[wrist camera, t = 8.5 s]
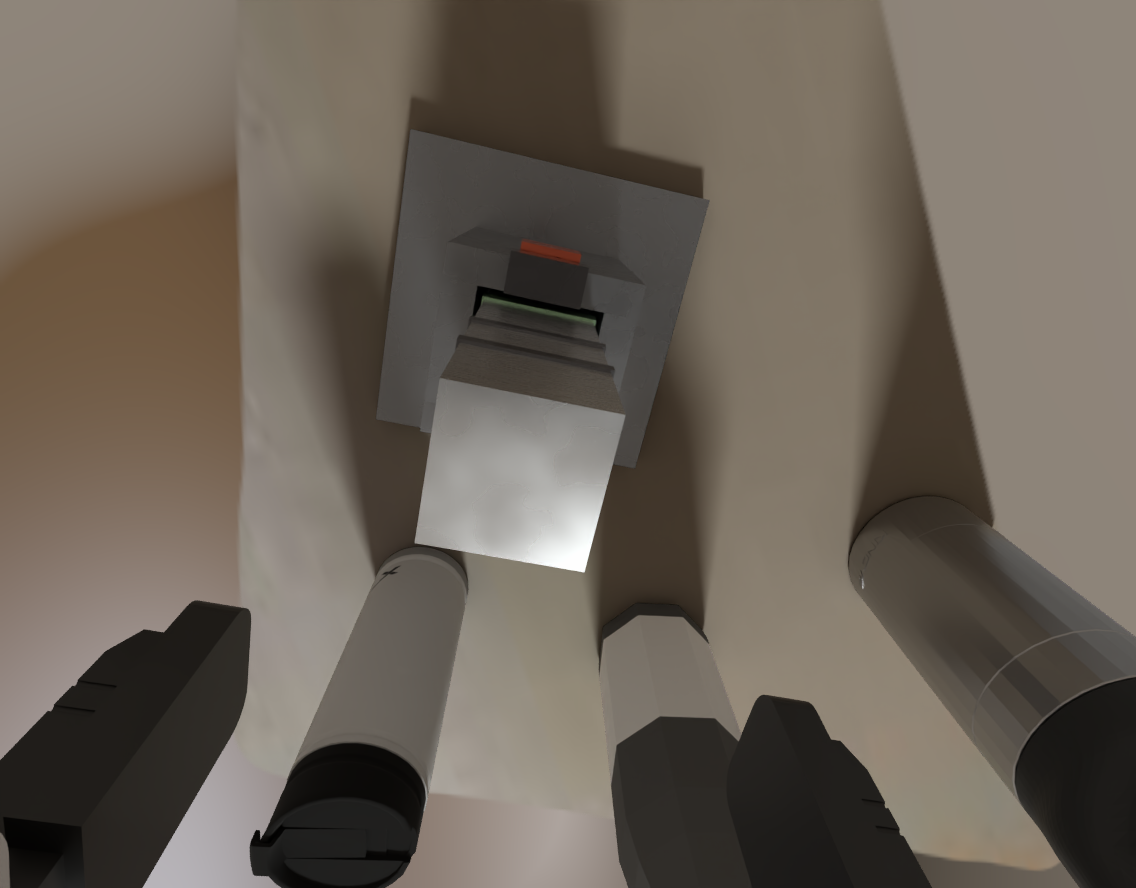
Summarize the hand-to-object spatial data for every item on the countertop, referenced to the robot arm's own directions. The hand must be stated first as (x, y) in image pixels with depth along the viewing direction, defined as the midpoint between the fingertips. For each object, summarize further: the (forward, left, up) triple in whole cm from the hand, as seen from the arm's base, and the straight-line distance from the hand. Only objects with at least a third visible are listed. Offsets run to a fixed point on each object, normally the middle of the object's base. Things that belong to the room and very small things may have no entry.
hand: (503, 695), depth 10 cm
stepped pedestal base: (0, -1, -30) cm, 30 cm away
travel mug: (+4, +19, -31) cm, 36 cm away
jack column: (0, -1, -24) cm, 24 cm away
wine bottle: (-13, +21, -31) cm, 39 cm away
